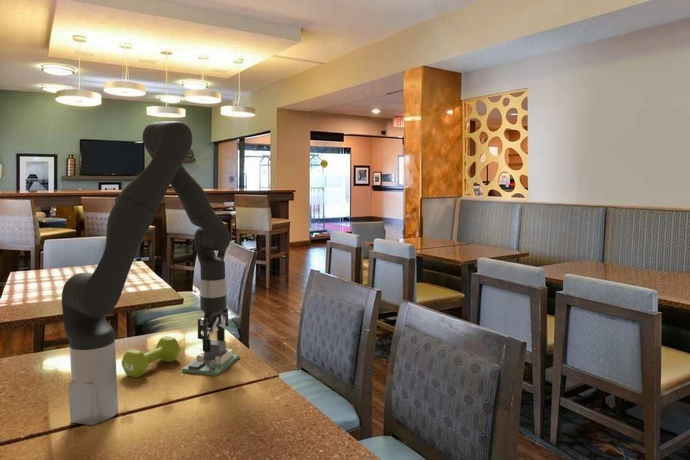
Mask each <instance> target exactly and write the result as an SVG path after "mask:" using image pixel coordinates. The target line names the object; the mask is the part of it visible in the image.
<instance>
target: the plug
mask: <svg viewBox="0 0 690 460" xmlns="http://www.w3.org/2000/svg"><path fill="white" fill-rule="evenodd" d="M226 342H227V341H226V340H225V341H220V340H217V339H211V351H210V352H204V351H203V354H204V360H206V361H211V360H214V361H215V357H216V356H218V357H221V356H222V355H223V354H225V353H226V349H227V348H226V347H227V346H226V345H227V343H226Z"/></svg>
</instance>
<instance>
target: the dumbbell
mask: <svg viewBox="0 0 690 460" xmlns="http://www.w3.org/2000/svg"><path fill="white" fill-rule="evenodd" d="M180 352H181V347H180V344H179V343H178V340H177V339H176V337H172V336H168V335H167V336H162V337H161V338H160V339H159V340H158V342H157V345H156V347H155V348H154V349H151V350H150V351H147V352H145V353H144V352H143V351H141V350H138V349H129V350H127V351H126V352H125V353H124V355H123V356H122V359H121V366H122V368H123V370H124V373H125V375H126V376H128V377H130V378H136V379H137V378H140V377H142V376H144V374H145V373H146V371H147V368H148V366H149V365H148V364H151V363H154V362H156V361H157V360H161V361H163V362H167V363H171V362H175V361H176V360H177V359H178V357H179V355H180Z"/></svg>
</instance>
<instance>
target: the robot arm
mask: <svg viewBox="0 0 690 460" xmlns="http://www.w3.org/2000/svg"><path fill="white" fill-rule="evenodd" d="M192 133H193V132H192V131H191V129H190V127H189V126H188V125H187V124H186V123H184V122H181V121H176V120H175V121H173V120H171V121H155V122H151V123H149V124H148V125H146V126H145V128H144V130H143V133H142V142H143V143H142V144H143V146H144V147H145V150H146V152H147V153H148V154H149V156H150V158H151V160H150V162H149V163H148V165H147V166H146V167H145V168H144V169H143V171H141V172H140V173H139V174H138V175H137V176H136V177H134V179H132V180H131V181H130V182H128V184H127V185H126V186H125V187H124V189H122V191H121V192H120V194H119V195H118V197H117V198H116V201H115V202H114V204H113V206H112V208H111V210H110V212H109V215H108V216H107V217H108V218H107V222H106V235H105V236H106V238H105V246H104V250H103V253H102V255H101V258H100V260H99V262H98V264H97V266H96V268H95V270H94V271H93V273H90V272H79V273H76V274H74V275H72V276H71V277H69V278H68V279H67V280H66V281H65V283H64V285H63V287H62V291H61V311H62V318H63V326H64V332H65V335H66V336H67V339H68V343H69V345H68V346H69V356H70V357H69V358H70V359H69V360H70V374H71V375H70V376H71V380H70V381H68V384H67V387H68V399H69V400H68V403H69V405H68V406H69V418H70V423H74V424H80V425H81V424H82V425H88V426H95V425H97V424H99V423H101V422H105V421H107V420H110V419H112V418H113V417H115V416H116V415H117V414H118V413H119V400H118V399H119V398H118V379H117V378H118V376H117V358H116V357H117V356H116V355H117V354H116V341H115V340H116V335H115V330H114V328H113V327H112V325H111V324H110V323H109V322H108V320H107V317H106V315H109V314H110V313H111V312H112V311H113V310H114V309H115V308H116V306H117V304H118V302H119V301H120V299H121V295H122V294H123V290H124V287H125V285H126V282H127V279H128V276H129V274H130V271H131V268H132V265H133V263H134V261H135V258H136V256H137V254H138V251H139V249H140V247H141V245H142V243H143V241H144V238H145V237H146V235H147V232H148V231H149V229H150V227H151V225H152V223H153V221H154V219H155V216H156V214H157V212H158V210H159V207H160V205H161V203H162V201H163V199H164V197H165V195H166V193H167V191H168V189H169V187H170V186H171V188H172V189H173V190H174V192H175V193H176V196H177V198H178V199H179V201H180V203H181V205H182V207H183V209H184V211H185V213H186V215H187V217H188V219H189V221H190V223H191V224H192V225H194V226H195V227H198V228H197V229H196V231H195V232H194V235H193V244H194V247H195V248H194V249H195V252H196V256H197V258H198V262H199V267H200V270H199V271H200V281H199V282H200V283H199V307H200V308H199V309H200V310H201V311H202V312H204V315H203V317H199V318H198V319H197V339H199V340H202V352H203V353H204V352H210V351H211V340H212V334H213V333H215V330H216V329H217V330H216V340H220V341H226V340H225V339H226V338H225V337H226V336H225V334H226V333H225V331H227V330H226V329H227V327H229V308H228V307H227V282H226V263H225V262H226V261H225V260H224V259H223V258H221V257H219V256H217V254H216V252H215V251H217V252H221V251H225V250H226V249H228V248H229V246H230V244H231V234H230V231H229V228H228V226H226V224H225V223H224V222H223V220H222V219H221V218H220V217H219V216H218V214H217V213H216V212H215V210H214V209H213V207H212V203H211V202H210V199H209V198H208V195H207V193H206V192H205V190H204V189H203V187H202V185H200V184H199V183H198V182H197V180H196V179H194V177H192V175H191V174H190V173H189V172H188V171H187V170H186V168H185V167H184V166H183V163H184V161H185V160H186V158H187V157H188V155H189V153H190V151H191V148H192V144H193V134H192Z"/></svg>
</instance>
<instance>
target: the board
mask: <svg viewBox="0 0 690 460" xmlns="http://www.w3.org/2000/svg"><path fill="white" fill-rule="evenodd" d="M240 356H241V355H240V354H237V353H234V349H232V348H231V349H230V348H226V353H225V354H223V355H222V356H221V357H218V356H216V357H215V361H214V360H211V361H206V360H204V352H199V353H198V354H196V359H194V360H192V361H191V362H189V363H188V364H187V365H185V366H183V367H182V368H181V372H182V373H188V374H198V375H206V376H207V375H208V376H216V377H217V376H218V377H219V375H220V374H222V373H223V372H224V371H225V370H226V369H228V368H229V367H230V366H231V365H233V364H234V363H235V362H236V361H237V360H239V359H240Z"/></svg>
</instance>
